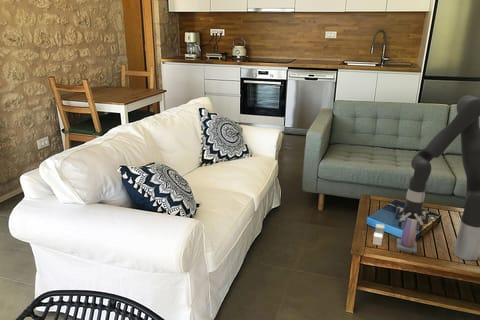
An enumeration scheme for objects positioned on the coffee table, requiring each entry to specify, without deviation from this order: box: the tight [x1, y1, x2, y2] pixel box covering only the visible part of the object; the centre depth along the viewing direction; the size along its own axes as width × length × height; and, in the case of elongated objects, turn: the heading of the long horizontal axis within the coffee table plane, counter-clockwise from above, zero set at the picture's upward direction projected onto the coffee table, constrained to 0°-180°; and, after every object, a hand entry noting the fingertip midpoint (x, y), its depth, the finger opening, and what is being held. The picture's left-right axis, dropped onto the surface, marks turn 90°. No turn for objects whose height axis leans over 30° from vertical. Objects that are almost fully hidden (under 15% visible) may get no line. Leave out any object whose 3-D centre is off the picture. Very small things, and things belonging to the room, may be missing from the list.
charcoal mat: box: [396, 237, 418, 254], centre depth 189 cm, size 9×9×1 cm
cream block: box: [372, 231, 384, 246], centre depth 191 cm, size 4×4×4 cm
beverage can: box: [400, 217, 419, 247], centre depth 186 cm, size 6×6×15 cm
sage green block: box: [374, 223, 385, 235], centre depth 200 cm, size 4×4×4 cm
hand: (409, 229), depth 186 cm, fingers open, 8 cm apart
